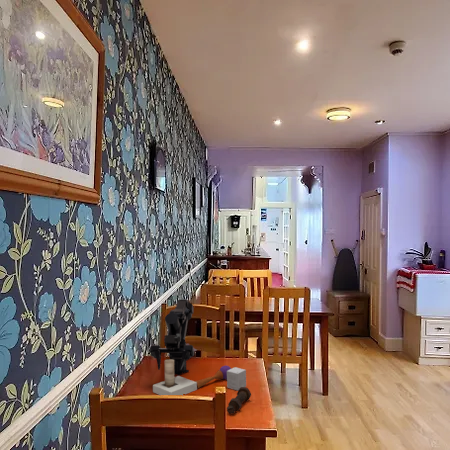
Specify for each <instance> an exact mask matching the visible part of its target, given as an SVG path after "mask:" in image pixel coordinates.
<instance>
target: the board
mask: <svg viewBox="0 0 450 450" xmlns="http://www.w3.org/2000/svg"><path fill="white" fill-rule="evenodd" d="M174 381H175V385H174V386H173V387H170V388H167V387H166V386H165V380H164V381H160V382H157V383H155V384H153V385H152V393H153V394H157V395H159V396H161V395H182V396H184V395H183V394H185V395H187V394H189V393H193V392H195V391H197V390H198V389H197V382H194V380H192V379H191V380H190V379H188V378H186V377H183V376H180V375H177V376H174Z"/></svg>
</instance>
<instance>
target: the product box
mask: <svg viewBox="0 0 450 450" xmlns="http://www.w3.org/2000/svg"><path fill="white" fill-rule="evenodd" d="M226 387H227V388H228V389H231V390H233V391H237V392H238V391H239V389H240V388H241V387H246V388H247V370H246V369H243V368H240V367H237V366H235V367H232V368H231V369H230V370H228V371H227V379H226Z"/></svg>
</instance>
